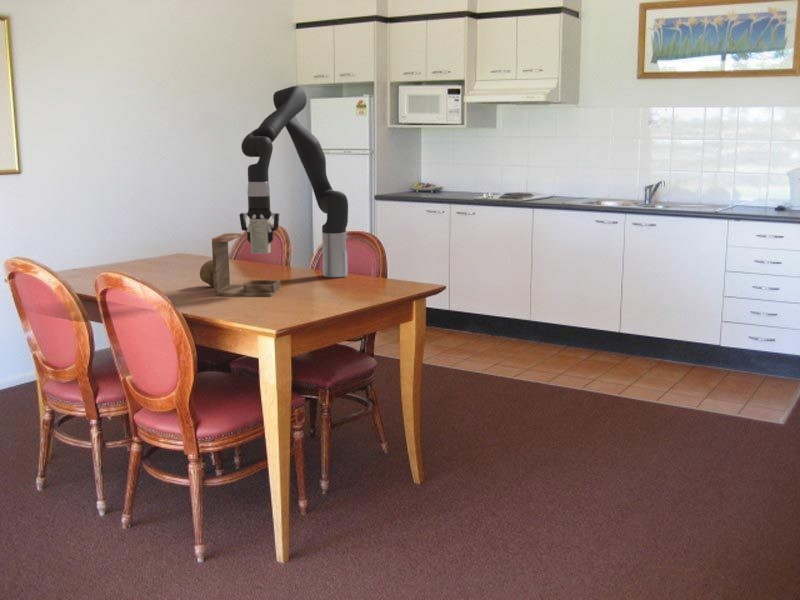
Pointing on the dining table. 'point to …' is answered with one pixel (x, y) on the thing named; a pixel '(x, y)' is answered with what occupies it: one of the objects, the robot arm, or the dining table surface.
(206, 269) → the natural sponge
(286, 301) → the dining table surface
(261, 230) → the skincare box
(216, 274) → the wooden display stand
